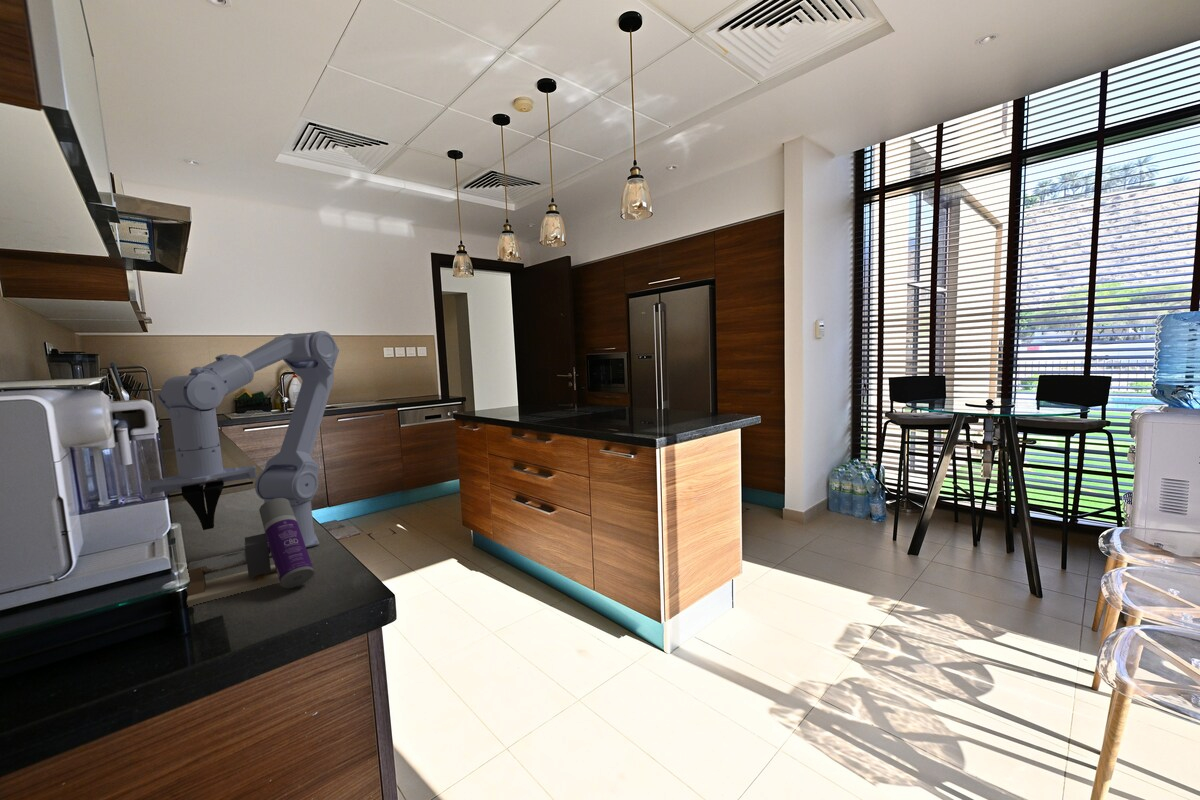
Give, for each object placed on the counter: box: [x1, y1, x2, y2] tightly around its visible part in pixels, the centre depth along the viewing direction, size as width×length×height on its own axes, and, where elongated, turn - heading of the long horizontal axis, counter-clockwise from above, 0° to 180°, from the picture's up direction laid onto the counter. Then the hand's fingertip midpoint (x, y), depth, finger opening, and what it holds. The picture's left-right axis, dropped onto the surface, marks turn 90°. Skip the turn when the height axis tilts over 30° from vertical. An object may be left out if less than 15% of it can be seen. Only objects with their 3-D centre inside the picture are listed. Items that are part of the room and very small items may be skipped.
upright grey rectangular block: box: [244, 532, 271, 577], centre depth 80 cm, size 5×3×5 cm, turn 37°
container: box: [258, 498, 315, 589], centre depth 80 cm, size 5×5×15 cm
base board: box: [186, 564, 281, 608], centre depth 79 cm, size 7×14×5 cm, turn 127°
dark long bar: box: [188, 544, 273, 575], centre depth 79 cm, size 3×13×3 cm, turn 127°
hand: (208, 527), depth 80 cm, fingers closed
